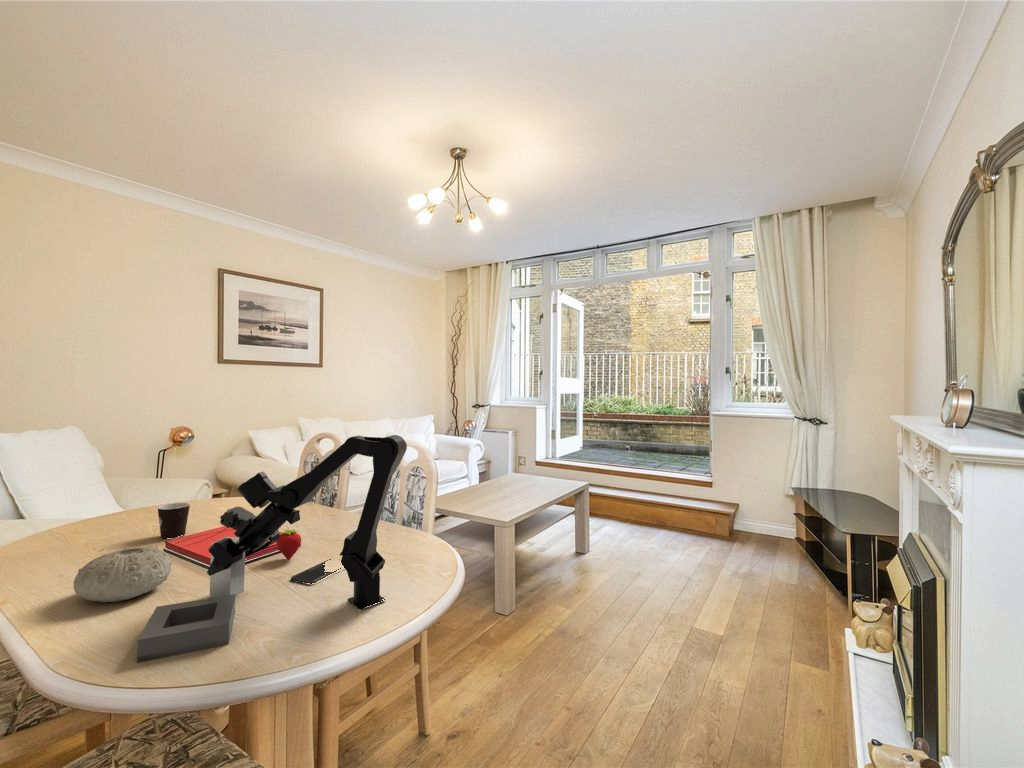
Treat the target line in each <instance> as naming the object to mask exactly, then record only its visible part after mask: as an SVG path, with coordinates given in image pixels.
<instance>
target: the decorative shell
mask: <svg viewBox="0 0 1024 768" xmlns="http://www.w3.org/2000/svg"><path fill="white" fill-rule="evenodd" d="M171 571H172V559H171V558H170V557H169V555H168V554H167V552H166V551H164V550H162V549H160V548H159V547H158V546H155V547H152V546H131V547H127V548H124V547H123V548H122V549H118V550H117V551H112V552H109V553H105V554H102V555H100V556H98V557H95V558H94V559H92V560H90V561H89V562H88V563H86V564H85V565H83V566H82V567H81V568H78V572H77V574H76V575H75V578H74V580H73V590H74V593H75V594H76V595H77V597H79V598H81V599H83V600H87V601H90V602H91V601H92V602H99V603H109V602H110V603H111V602H112V603H113V602H122V601H126V600H130V599H133V598H135V597H138V596H141V595H143V594H146V593H148V592H151V591H153V590H155V589H156V588H157V587H160V585H162V584H163V583H164V582H166V580H168V577H169V576H170V573H171Z"/></svg>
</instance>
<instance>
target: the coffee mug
mask: <svg viewBox="0 0 1024 768" xmlns="http://www.w3.org/2000/svg"><path fill="white" fill-rule="evenodd" d="M190 507H191V503H188V502H174V503H167V504H163V505H160V506H158V507H157V514H158V515H157V516H158V523H159V532H160V538H162V540H168V539H167V538H175V537H178V536H181V535H184V534H185V535H186V530H187V525H188V524H187V523H188V518H189V511H190ZM185 535H184V536H185ZM175 539H176V538H175Z"/></svg>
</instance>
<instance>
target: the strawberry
mask: <svg viewBox="0 0 1024 768" xmlns="http://www.w3.org/2000/svg"><path fill="white" fill-rule="evenodd" d="M285 526H286V527H287V529H284V531H283V532H279V533H280V536H279V539H278V540H277V541H276V542H275V543H276V545H277V550H279V551H280V553H281V554H282V555H283V556H284V557H285V559H286V558H287V560H291V559H292V557H294V555H295V554H296V552H298V550H299V548H300V547H301V543H302V537H301V535H300V534H299V533H298V530H296V529H295V528H294V529H290V530H289V527H288V525H285ZM290 558H291V559H290Z"/></svg>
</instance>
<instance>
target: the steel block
mask: <svg viewBox="0 0 1024 768" xmlns="http://www.w3.org/2000/svg"><path fill="white" fill-rule="evenodd" d="M224 538H231V539H232V540H233V542H234V543H235V544H238V543H240V541H239V537H237V536H224V537H222V538H221V539H218V540H216V541H213V542H212V543H210V547H211V546H212V545H213V544H214V543H215V542H217V541H220V540H222V539H224ZM243 548H244V547H243ZM213 559H214V557H213V556H212V555H211V554H210V564H211V563H212V561H213ZM245 564H246V557H245V552H243V559H241V560H240V561H239V562H238V563H237V564H236V565H234V566H233V567H231V568H229V569H226V570H223V571H221V572H218V573H216V574H213V575H211V576H209V598H214V597H220V596H226V595H232V594H236V597H238V596H239V595H240V593H241V594H242V593H244V592H245V576H246V573H245V567H246V565H245ZM237 595H238V596H237Z"/></svg>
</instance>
